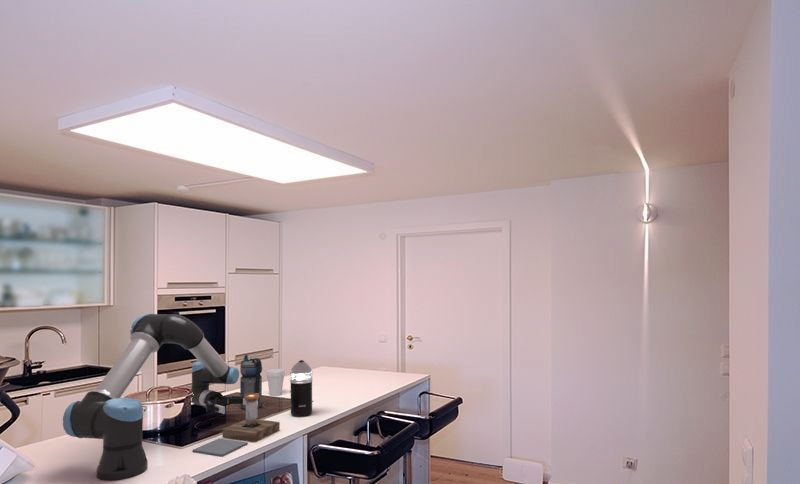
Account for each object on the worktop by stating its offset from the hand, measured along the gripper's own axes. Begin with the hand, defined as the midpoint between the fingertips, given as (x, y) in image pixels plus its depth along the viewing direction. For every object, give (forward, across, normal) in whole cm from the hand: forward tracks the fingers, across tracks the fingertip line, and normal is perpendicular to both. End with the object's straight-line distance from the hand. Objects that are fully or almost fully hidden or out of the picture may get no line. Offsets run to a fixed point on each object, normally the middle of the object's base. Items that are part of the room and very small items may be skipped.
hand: (238, 406), depth 218 cm
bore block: (+10, 0, -10) cm, 13 cm away
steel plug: (+10, 0, -10) cm, 13 cm away
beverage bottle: (-26, -25, -10) cm, 37 cm away
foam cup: (-39, -48, -10) cm, 62 cm away
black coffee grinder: (+3, -31, -10) cm, 33 cm away
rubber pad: (+15, +17, -10) cm, 25 cm away
